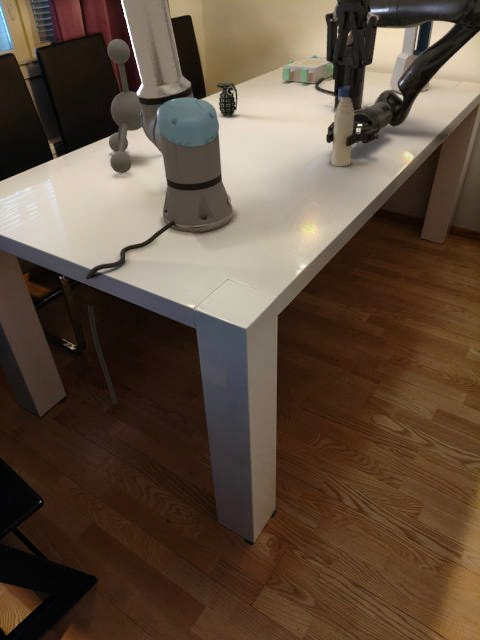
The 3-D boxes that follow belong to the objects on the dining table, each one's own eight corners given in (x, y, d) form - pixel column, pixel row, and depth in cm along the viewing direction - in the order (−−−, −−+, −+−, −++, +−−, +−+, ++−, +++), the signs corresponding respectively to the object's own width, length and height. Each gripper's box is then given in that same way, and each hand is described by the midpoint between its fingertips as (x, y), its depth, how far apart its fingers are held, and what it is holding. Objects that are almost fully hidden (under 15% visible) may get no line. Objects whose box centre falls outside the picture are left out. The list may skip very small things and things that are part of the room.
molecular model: (195, 164, 133) (181, 39, 115) (114, 179, 127) (87, 50, 109) (172, 140, 150) (157, 28, 132) (101, 152, 145) (75, 37, 126)
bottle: (333, 159, 132) (338, 87, 121) (351, 160, 130) (357, 87, 119) (329, 165, 128) (334, 92, 117) (348, 166, 127) (355, 92, 116)
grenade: (217, 117, 168) (214, 86, 162) (221, 112, 172) (219, 82, 166) (235, 117, 166) (233, 86, 160) (239, 113, 171) (238, 82, 165)
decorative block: (304, 53, 218) (345, 56, 208) (304, 69, 222) (344, 73, 212) (273, 65, 202) (316, 68, 192) (273, 81, 206) (315, 86, 196)
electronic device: (398, 94, 180) (412, -3, 162) (388, 89, 186) (400, -5, 168) (428, 90, 183) (445, -6, 164) (417, 86, 188) (432, -7, 170)
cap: (339, 97, 117) (340, 90, 116) (336, 93, 120) (336, 86, 119) (355, 96, 117) (356, 89, 116) (352, 92, 120) (352, 85, 119)
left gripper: (313, -20, 108) (309, 94, 122) (379, -19, 98) (366, 104, 112) (333, -23, 112) (327, 88, 126) (399, -22, 102) (384, 97, 116)
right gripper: (344, 105, 135) (313, 121, 125) (394, 111, 128) (365, 129, 118) (342, 133, 140) (312, 150, 129) (389, 140, 133) (362, 160, 122)
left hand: (345, 95), depth 119 cm, fingers closed on cap, 4 cm apart
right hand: (337, 140), depth 124 cm, fingers closed on bottle, 5 cm apart
